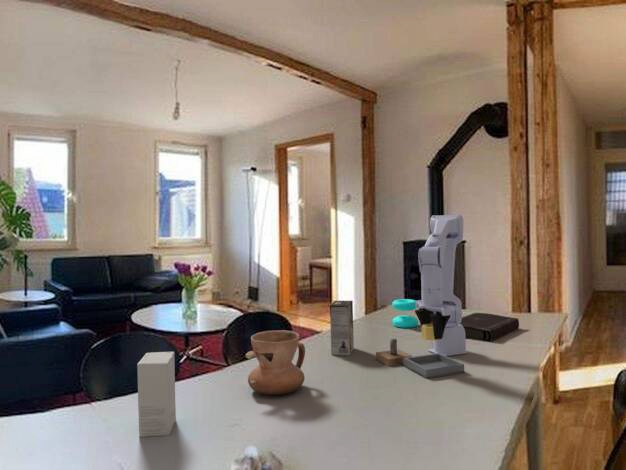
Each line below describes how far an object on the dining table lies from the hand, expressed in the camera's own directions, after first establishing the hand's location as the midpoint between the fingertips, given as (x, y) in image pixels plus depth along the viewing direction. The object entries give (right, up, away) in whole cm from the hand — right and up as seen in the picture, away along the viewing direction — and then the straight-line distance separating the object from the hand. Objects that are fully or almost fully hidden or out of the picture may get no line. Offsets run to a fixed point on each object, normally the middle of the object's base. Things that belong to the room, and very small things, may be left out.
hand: (432, 336), depth 142 cm
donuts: (+3, -7, +56) cm, 57 cm away
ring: (0, 0, 0) cm, 0 cm away
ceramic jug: (-43, -11, -13) cm, 46 cm away
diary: (+29, -8, +43) cm, 53 cm away
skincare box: (-67, -13, -35) cm, 76 cm away
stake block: (-9, -9, +10) cm, 16 cm away
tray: (0, -9, 0) cm, 9 cm away
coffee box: (-24, -10, +21) cm, 34 cm away
